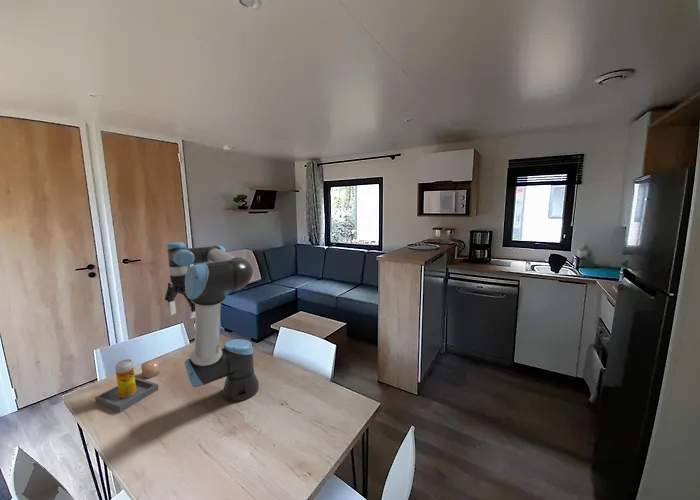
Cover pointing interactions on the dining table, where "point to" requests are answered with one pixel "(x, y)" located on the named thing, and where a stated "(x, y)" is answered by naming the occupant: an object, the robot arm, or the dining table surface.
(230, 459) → the dining table surface
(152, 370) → the light brown rounded lump
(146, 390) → the tray
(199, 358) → the robot arm
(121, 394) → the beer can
